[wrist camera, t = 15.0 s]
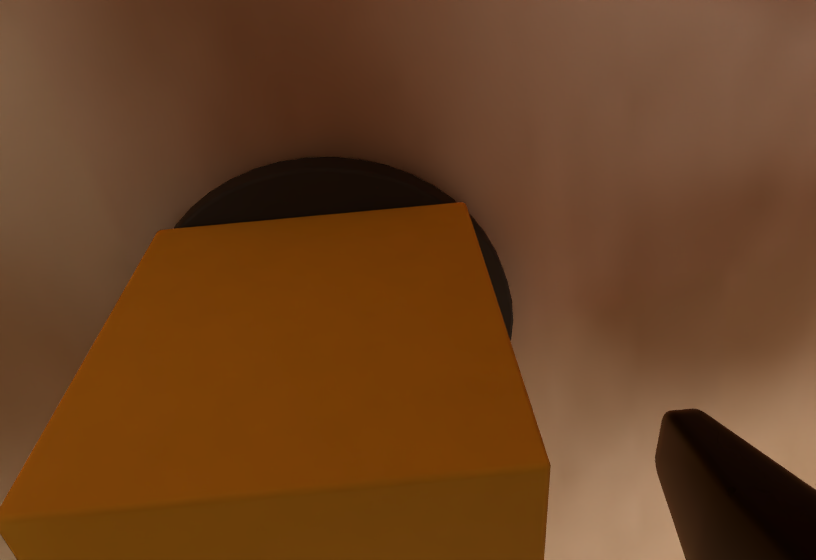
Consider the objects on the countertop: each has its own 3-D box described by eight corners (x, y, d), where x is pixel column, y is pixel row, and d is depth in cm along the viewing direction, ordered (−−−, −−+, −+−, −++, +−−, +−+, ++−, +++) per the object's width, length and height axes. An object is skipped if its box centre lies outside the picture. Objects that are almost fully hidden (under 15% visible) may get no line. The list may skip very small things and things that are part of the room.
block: (465, 199, 9) (553, 465, 5) (471, 422, 12) (533, 729, 8) (156, 228, 9) (-14, 522, 5) (225, 446, 12) (149, 769, 7)
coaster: (510, 137, 9) (517, 150, 9) (506, 430, 13) (511, 449, 12) (100, 175, 9) (87, 188, 9) (200, 460, 13) (194, 481, 12)
